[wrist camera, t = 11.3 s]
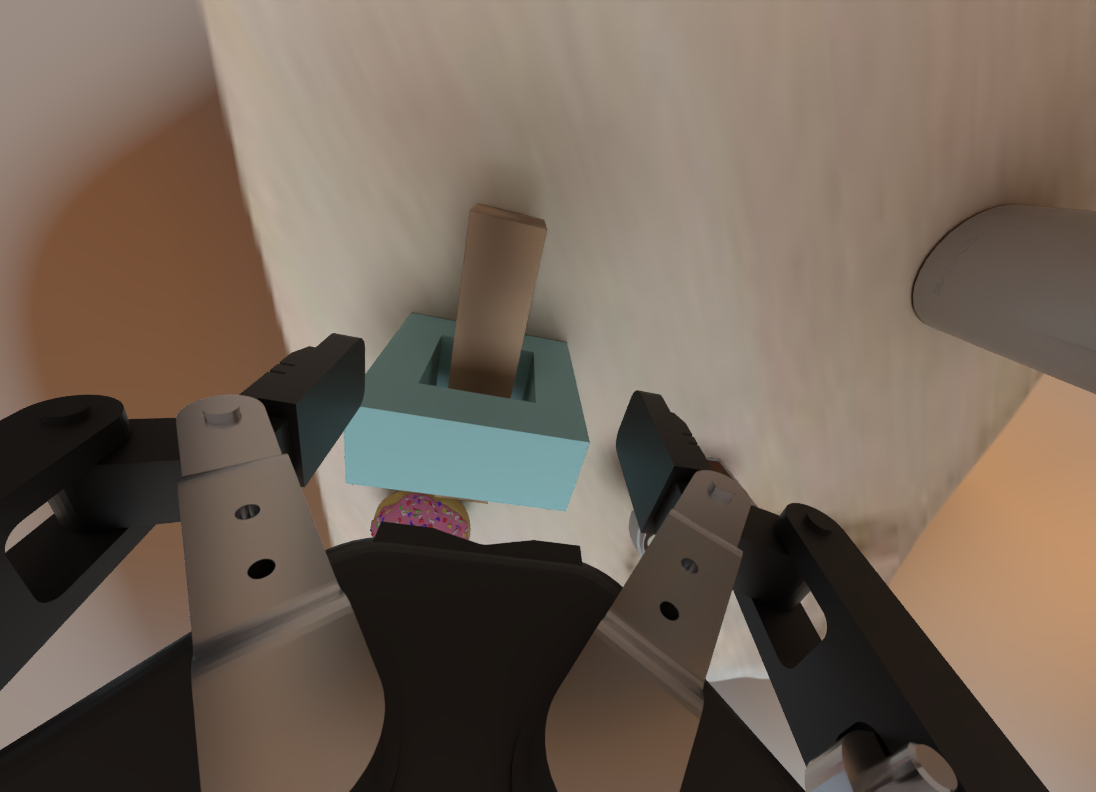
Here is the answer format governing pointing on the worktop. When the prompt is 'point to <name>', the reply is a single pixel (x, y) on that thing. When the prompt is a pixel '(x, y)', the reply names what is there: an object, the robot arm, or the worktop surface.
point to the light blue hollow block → (467, 424)
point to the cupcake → (423, 513)
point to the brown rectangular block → (494, 301)
